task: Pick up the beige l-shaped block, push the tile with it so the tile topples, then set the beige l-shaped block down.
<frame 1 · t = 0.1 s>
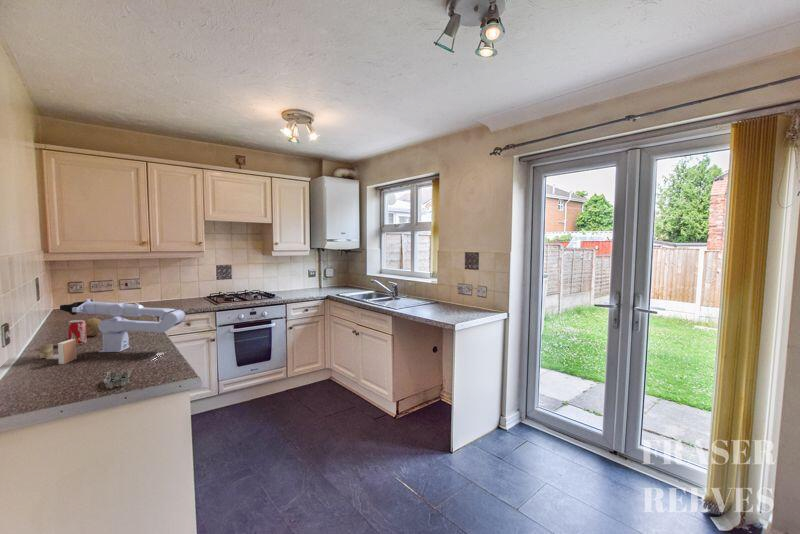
hand: (67, 306, 167), 22 cm above the worktop, tool horizontal, fingers open, 7 cm apart
egg carton: (118, 383, 132), on the worktop
beige l-shaped block: (46, 357, 159), on the worktop
soda can: (77, 344, 180), on the worktop
tile: (67, 361, 154), on the worktop
fork: (152, 363, 155), on the worktop
natural sponge: (94, 336, 196), on the worktop
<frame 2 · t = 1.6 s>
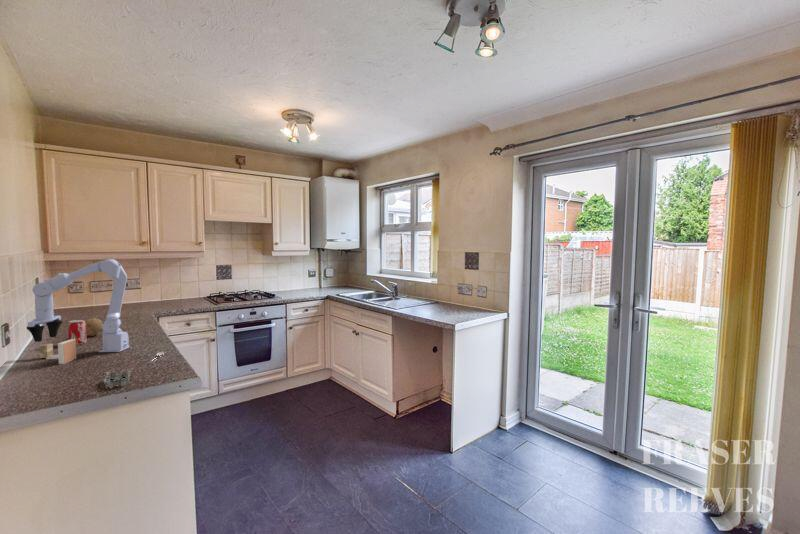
hand: (45, 339, 158), 8 cm above the worktop, tool pointing down, fingers open, 7 cm apart
nothing on the worktop moved.
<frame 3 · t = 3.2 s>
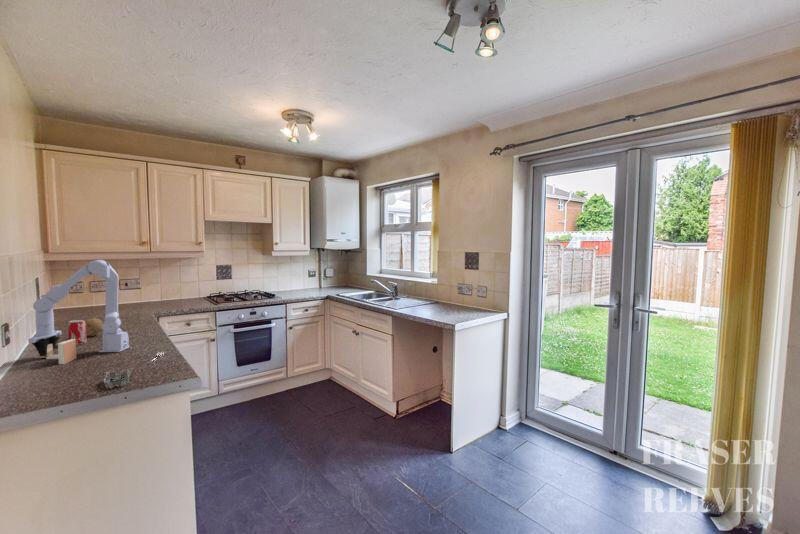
hand: (46, 354, 159), 1 cm above the worktop, tool pointing down, fingers closed on beige l-shaped block, 3 cm apart
beige l-shaped block: (46, 357, 159), on the worktop, touching gripper
everything else where it was.
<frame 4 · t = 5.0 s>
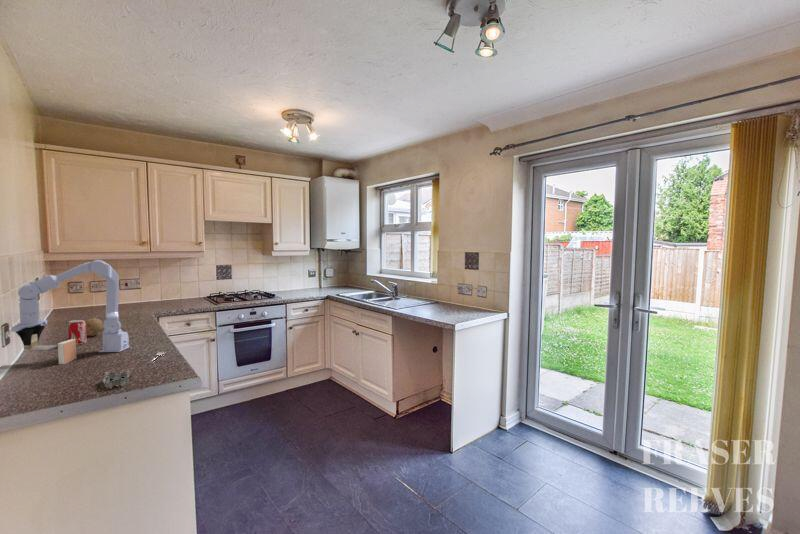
hand: (31, 344, 152), 8 cm above the worktop, tool pointing down, fingers closed on beige l-shaped block, 3 cm apart
beige l-shaped block: (30, 348, 152), point 6 cm above the worktop, touching gripper
everything else where it was.
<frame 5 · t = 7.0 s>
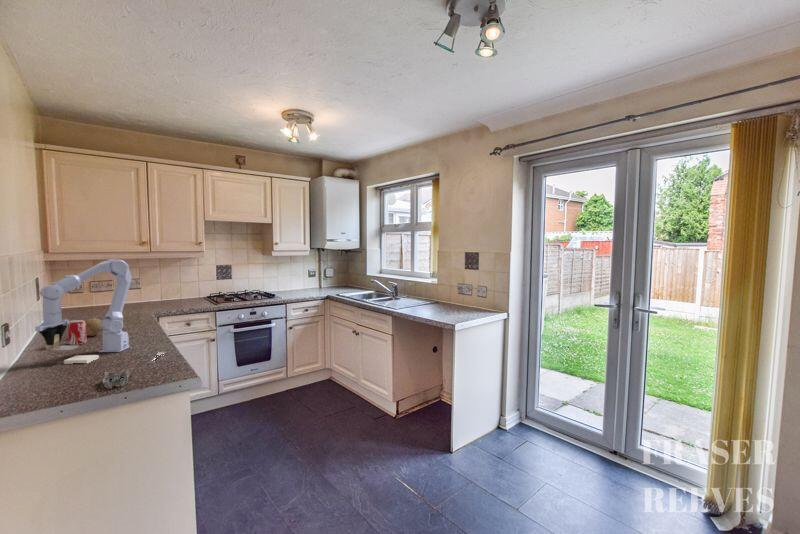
hand: (53, 343, 153), 8 cm above the worktop, tool pointing down, fingers closed on beige l-shaped block, 3 cm apart
beige l-shaped block: (52, 348, 153), point 6 cm above the worktop, touching gripper
tile: (70, 359, 154), point 1 cm above the worktop, tilted 90°
everything else where it was.
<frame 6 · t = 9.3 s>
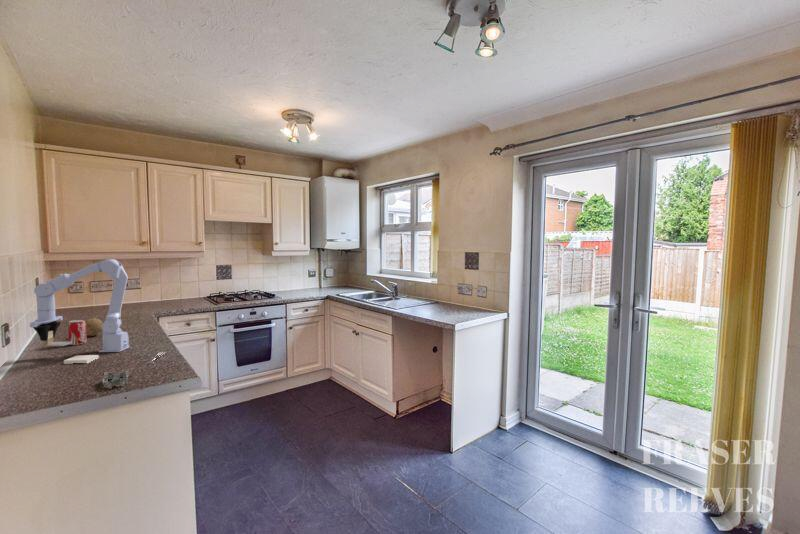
hand: (47, 339, 159), 8 cm above the worktop, tool pointing down, fingers closed on beige l-shaped block, 3 cm apart
beige l-shaped block: (46, 344, 159), point 6 cm above the worktop, touching gripper
everything else where it was.
when the fingers open (2 cm above the worktop, at t = 10.5 s): beige l-shaped block stays where it is, on the worktop.
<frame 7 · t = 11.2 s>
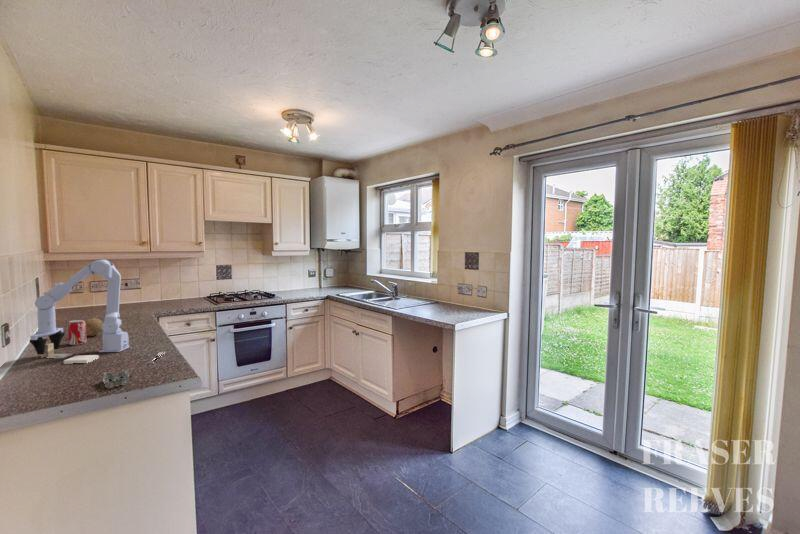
hand: (48, 351, 159), 2 cm above the worktop, tool pointing down, fingers open, 7 cm apart
beige l-shaped block: (47, 356, 160), on the worktop
everything else where it was.
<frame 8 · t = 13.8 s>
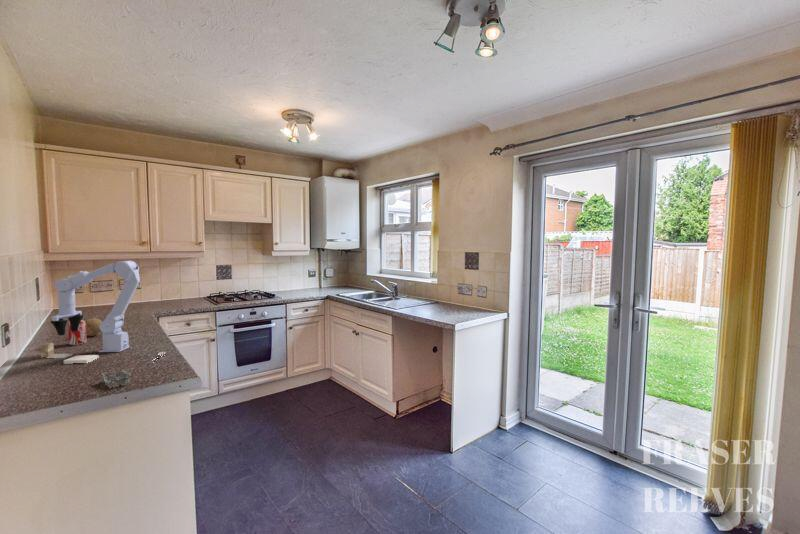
hand: (68, 332, 165), 9 cm above the worktop, tool pointing down, fingers open, 7 cm apart
at the end: tile tilted 90°; tile inside the target area (0.0 cm from its centre), point 0.6 cm above the worktop; beige l-shaped block on the worktop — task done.
